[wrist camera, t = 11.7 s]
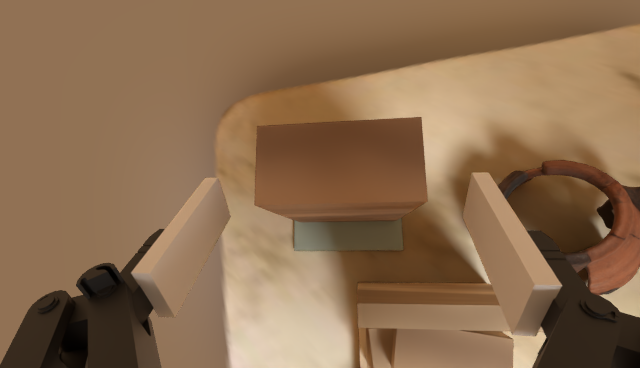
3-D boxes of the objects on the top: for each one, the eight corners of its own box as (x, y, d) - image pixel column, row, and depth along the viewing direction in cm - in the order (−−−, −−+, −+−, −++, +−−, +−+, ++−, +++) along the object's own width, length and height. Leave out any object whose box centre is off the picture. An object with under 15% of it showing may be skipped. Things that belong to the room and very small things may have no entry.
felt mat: (402, 250, 25) (403, 250, 25) (295, 250, 26) (294, 250, 26) (396, 145, 27) (397, 144, 27) (296, 149, 28) (295, 148, 28)
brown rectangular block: (395, 220, 25) (427, 201, 14) (300, 222, 26) (254, 205, 15) (393, 173, 26) (421, 117, 15) (300, 176, 27) (257, 126, 15)
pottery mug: (529, 326, 24) (529, 306, 18) (468, 223, 30) (452, 182, 24) (718, 266, 20) (797, 217, 14) (606, 164, 26) (629, 99, 20)
